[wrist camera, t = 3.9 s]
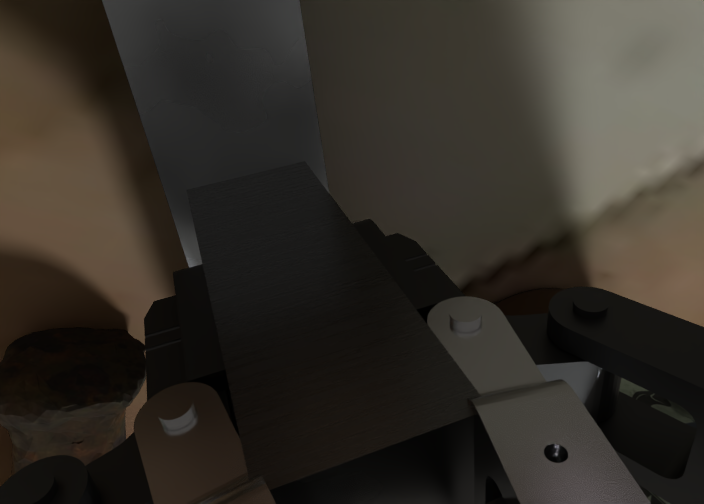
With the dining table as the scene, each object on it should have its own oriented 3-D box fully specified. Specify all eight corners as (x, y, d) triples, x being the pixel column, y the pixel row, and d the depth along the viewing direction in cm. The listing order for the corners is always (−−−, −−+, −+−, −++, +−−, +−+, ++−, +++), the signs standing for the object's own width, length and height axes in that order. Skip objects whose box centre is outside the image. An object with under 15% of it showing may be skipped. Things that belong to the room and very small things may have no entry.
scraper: (265, -46, 15) (550, 12, 5) (330, 318, 21) (508, 667, 11) (105, -20, 14) (41, 116, 4) (222, 351, 20) (313, 762, 10)
